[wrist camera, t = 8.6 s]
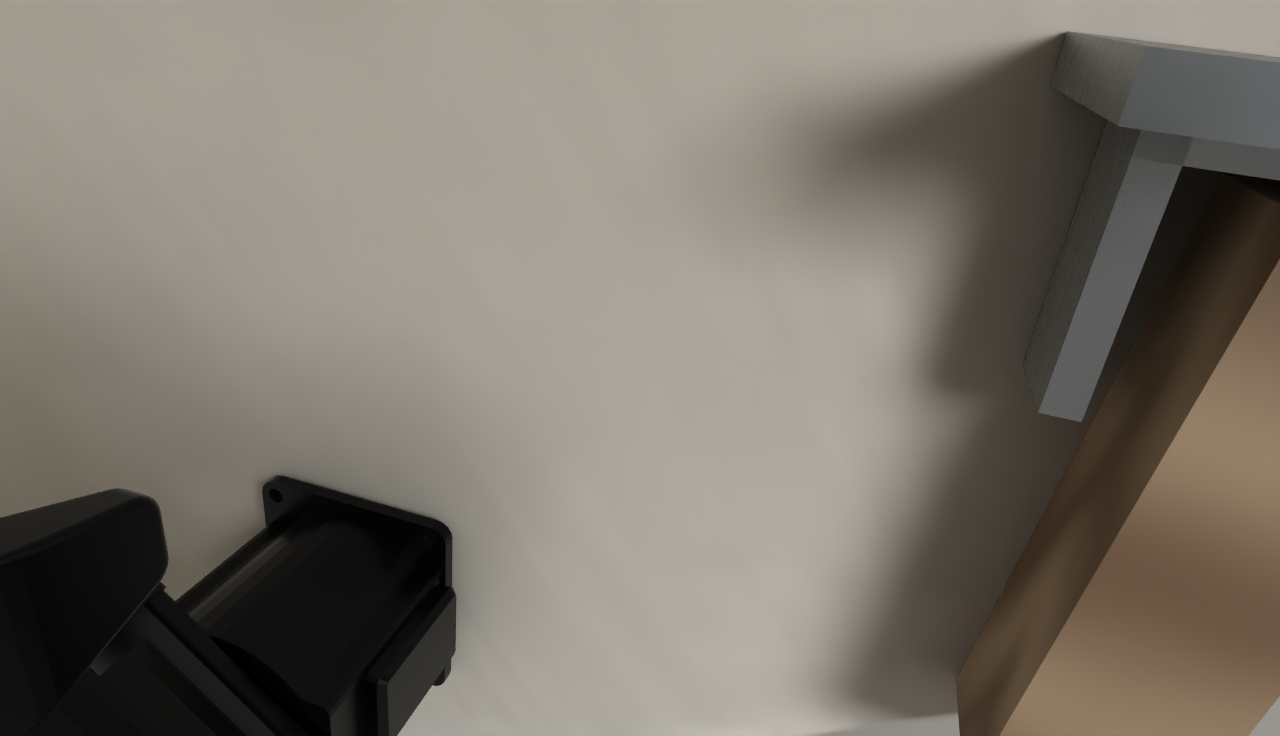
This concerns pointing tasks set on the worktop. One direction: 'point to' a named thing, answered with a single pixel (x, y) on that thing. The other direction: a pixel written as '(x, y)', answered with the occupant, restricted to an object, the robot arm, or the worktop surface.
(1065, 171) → the worktop surface
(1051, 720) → the block
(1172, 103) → the bracket
